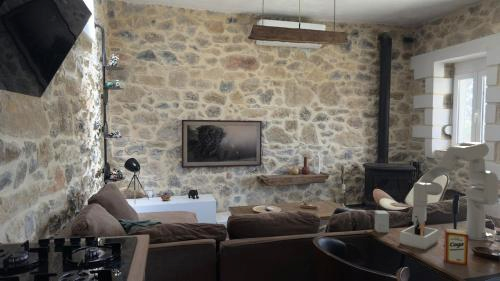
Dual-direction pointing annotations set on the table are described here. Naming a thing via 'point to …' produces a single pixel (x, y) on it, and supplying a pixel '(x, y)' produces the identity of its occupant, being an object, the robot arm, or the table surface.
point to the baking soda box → (456, 246)
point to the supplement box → (381, 221)
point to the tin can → (421, 228)
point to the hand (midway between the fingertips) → (419, 233)
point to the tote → (419, 238)
